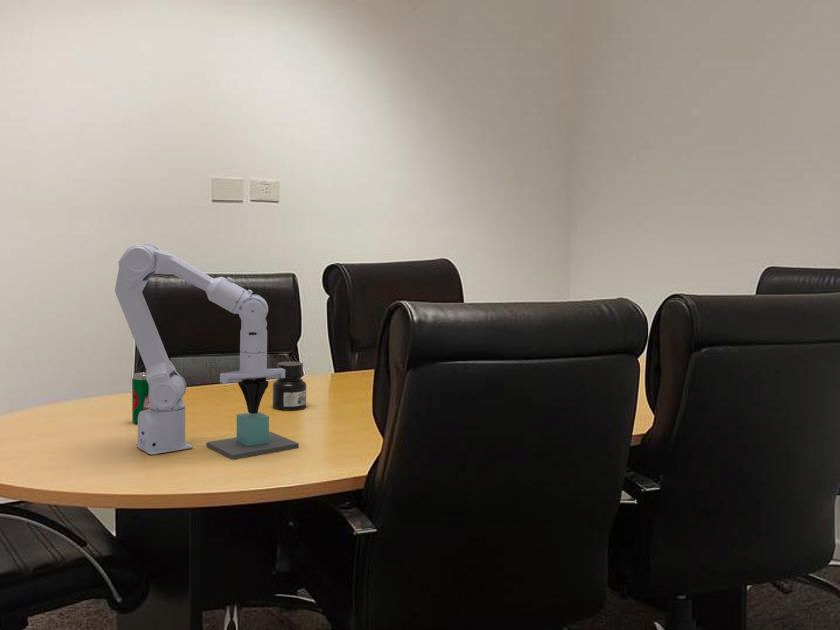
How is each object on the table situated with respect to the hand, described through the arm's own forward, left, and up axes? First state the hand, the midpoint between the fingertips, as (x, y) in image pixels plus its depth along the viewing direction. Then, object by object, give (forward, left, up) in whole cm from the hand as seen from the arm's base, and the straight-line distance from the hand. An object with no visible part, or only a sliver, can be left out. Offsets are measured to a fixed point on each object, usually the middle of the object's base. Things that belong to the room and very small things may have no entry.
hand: (252, 412), depth 171 cm
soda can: (-11, +34, -8) cm, 37 cm away
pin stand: (0, 0, -8) cm, 8 cm away
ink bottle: (+27, +29, -8) cm, 40 cm away
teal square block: (0, 0, -7) cm, 7 cm away
